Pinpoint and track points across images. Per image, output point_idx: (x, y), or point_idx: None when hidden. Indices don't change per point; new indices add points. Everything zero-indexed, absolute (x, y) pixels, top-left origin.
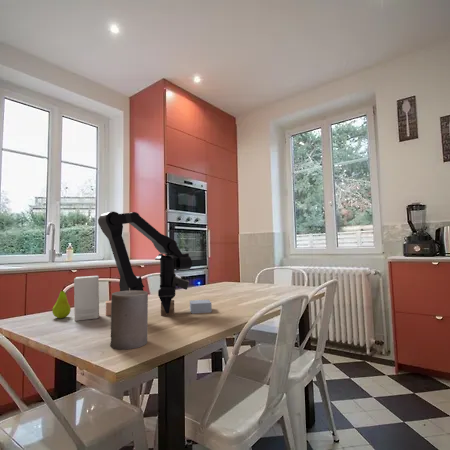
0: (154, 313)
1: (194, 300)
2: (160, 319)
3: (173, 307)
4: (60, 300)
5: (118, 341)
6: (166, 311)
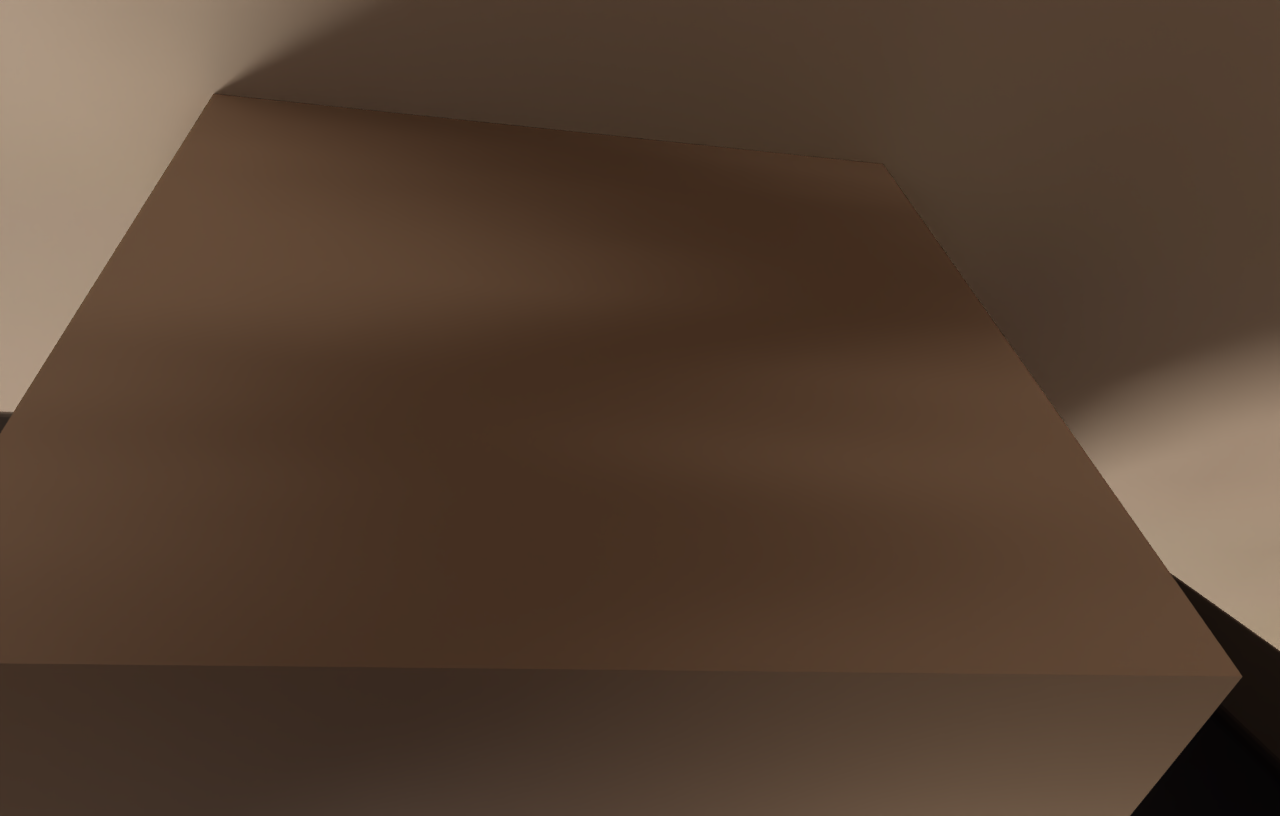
0: None
1: None
2: (1249, 596)
3: (1026, 417)
4: None
5: None
6: None
